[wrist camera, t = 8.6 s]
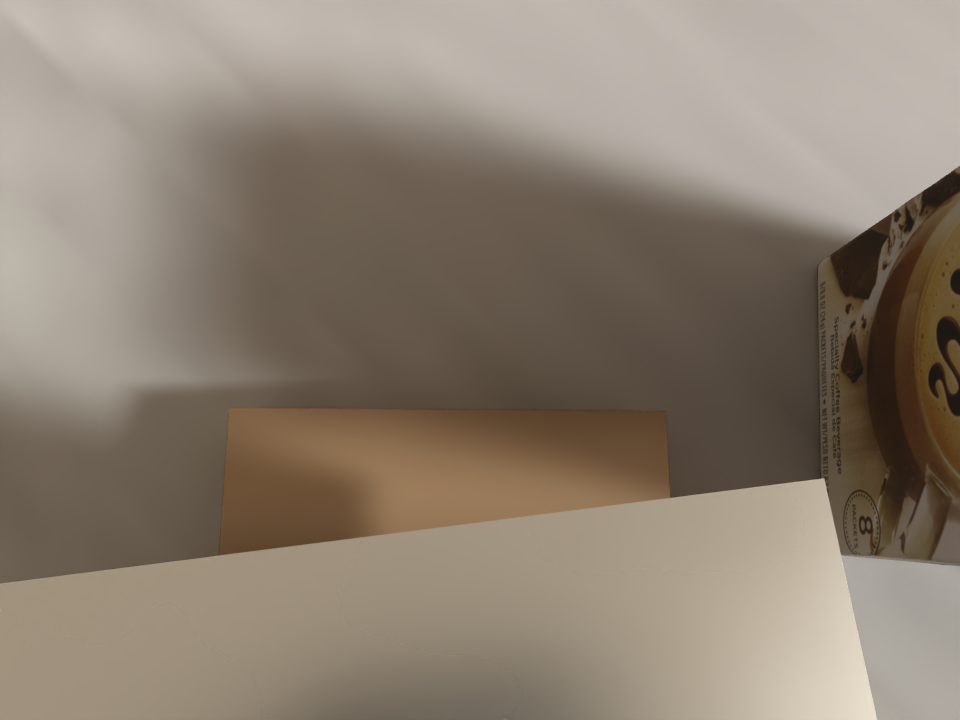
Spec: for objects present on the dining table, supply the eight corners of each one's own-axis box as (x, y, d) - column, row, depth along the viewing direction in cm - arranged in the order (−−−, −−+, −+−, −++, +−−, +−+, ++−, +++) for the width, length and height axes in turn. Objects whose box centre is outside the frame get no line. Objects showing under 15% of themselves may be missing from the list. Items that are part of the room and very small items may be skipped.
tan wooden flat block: (655, 842, 20) (691, 896, 17) (230, 850, 20) (193, 907, 17) (636, 426, 22) (666, 410, 19) (257, 423, 22) (229, 407, 19)
